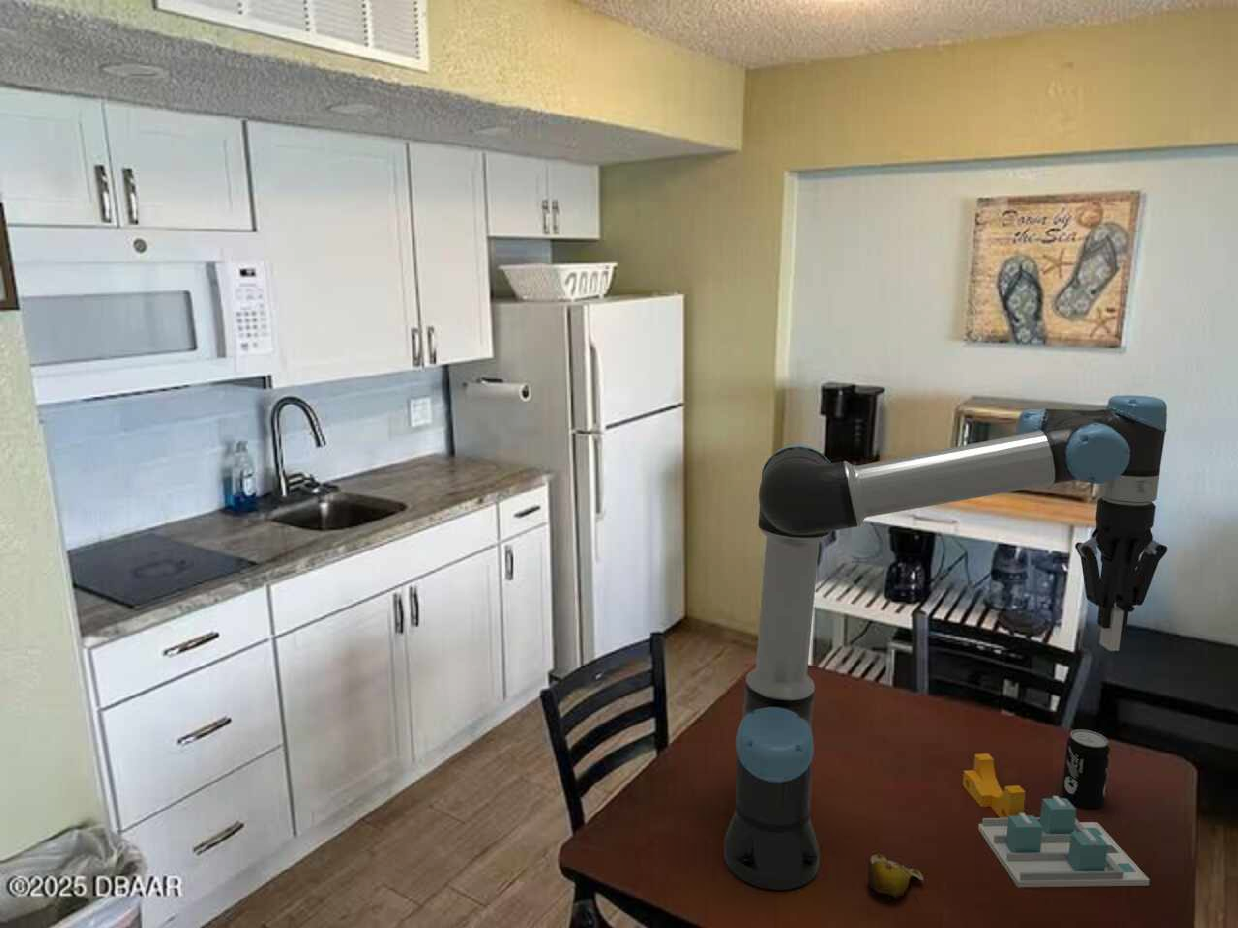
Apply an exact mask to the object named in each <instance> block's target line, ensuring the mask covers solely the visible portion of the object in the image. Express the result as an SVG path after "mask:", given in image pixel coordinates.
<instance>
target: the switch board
mask: <svg viewBox="0 0 1238 928" xmlns="http://www.w3.org/2000/svg"><path fill="white" fill-rule="evenodd" d="M1034 817H1035V816H1034ZM1035 818H1036V819H1037V821H1038V822H1039V823H1040V816H1038V817H1035ZM981 821H982V822H981V823H978V825H977V830H978V831H979V832H980V834H981V836H982V837H983V838H984V840H985V842H986V843H987V844H988V846H989V847H990V849H991V851H992V852H993V853H994V855H995V856H996V857H997V859H998V860H999V862H1000V863H1001V865H1002V867H1003V868H1004V869H1005V871H1006V872H1007V874H1008V875H1009V877H1010V878H1011V879H1012V881H1013V883H1014V884H1015V886H1016V887H1017V888H1063V887H1064V888H1065V887H1067V888H1068V887H1069V888H1071V887H1073V888H1074V887H1077V888H1078V887H1079V888H1080V887H1139V886H1140V887H1141V886H1143V887H1145V886H1146V887H1147V886H1148V887H1149V886H1150V880H1151V879H1150V878H1149V877H1148V876H1147V875H1146V874H1145V873H1144V872H1143V871H1142V870H1141V869H1140V867H1138V865H1137V864H1136V863H1135V862H1134V861H1133V860H1132V859H1131V858H1130V856H1129V855H1128V854H1127V853H1126V852H1125V851H1124V850H1123V848H1121V847H1120V845H1119V844H1118V843H1116V841H1115V840H1114V838H1112V837H1111V835H1109V834H1108V833H1107V831H1106V830H1105V829H1104V828H1103V827H1102V825H1100V824H1099V823H1098V822H1096V821H1095V822H1094V821H1089V822H1088V821H1086V822H1081V821H1079V820H1078V819H1077V817H1075V824H1074V832H1082V830H1088V831H1089V832H1097V833H1098V834H1099V835H1100V836H1101V838H1102V839H1103V840H1104V841H1105V842H1106V843H1107V844H1108V848H1107V856H1106V864H1105V871H1075V869H1074V868H1073V867H1072V866H1071V864H1070V863H1069V862H1068V854H1069V845H1070V836H1071V834H1046V833H1045V832H1044V831H1043V829H1042V838H1041V848H1040V852H1026V853H1012V851H1011V850H1010V849H1009V847H1008V846H1007V844H1006V835H1007V824H1008V818H1000V817H983V818H982V819H981Z"/></svg>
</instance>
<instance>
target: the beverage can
mask: <svg viewBox="0 0 1238 928" xmlns="http://www.w3.org/2000/svg"><path fill="white" fill-rule="evenodd" d="M1108 743H1109V742H1108V739H1107V738H1106V737H1105V736H1104V735H1102V734H1101V733H1099V732H1096V731H1093V730H1090V729H1084V728H1083V729H1081V728H1080V729H1079V728H1078V729H1073V730H1072V731H1071V732H1070V736H1068V738H1067V739H1066V746H1065V747H1066V748H1065V756H1064V765H1063V773H1062V783H1061V794H1062V795H1063V796H1064V797H1065V798H1066V799H1067V800H1068V801H1069V802H1070V803H1071V804H1072V805H1074V806H1076V807H1081V808H1083V809H1095V808H1097V807H1100V806H1101V805H1103V804H1104V801H1105V794H1106V784H1107V777H1108V770H1109V769H1108V768H1109V760H1110V753H1111V750H1110V747H1109V745H1108Z"/></svg>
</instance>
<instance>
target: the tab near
mask: <svg viewBox="0 0 1238 928" xmlns="http://www.w3.org/2000/svg"><path fill="white" fill-rule="evenodd" d="M1107 848H1108V844H1107V843H1106V842H1105V841H1104V840H1103V839H1102V838H1101V836H1100V835H1099V834H1098V833H1097V832H1089V831H1088V830H1082V832H1071V836H1070V845H1069V854H1068V862H1069V863H1070V864H1071V866H1072V867H1073V868H1074V869H1075V871H1105V864H1106V856H1107Z"/></svg>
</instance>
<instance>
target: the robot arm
mask: <svg viewBox="0 0 1238 928" xmlns="http://www.w3.org/2000/svg"><path fill="white" fill-rule="evenodd" d="M1107 401H1108V402H1107V405H1106V407H1105V409H1104V408H1102V409H1101V408H1100V409H1068V408H1066V409H1065V408H1048V407H1043V408H1027V409H1024V410H1023V411H1022V412H1021V413H1020V414H1019V416H1018V418H1017V423H1016V426H1015V427H1016V429H1015V434H1014V435H1010V436H1005V437H999V438H995V439H990V440H989V439H988V440H985V441H978V442H974V443H973V442H972V443H970V444H963V445H958V446H953V447H949V448H944V449H943V448H942V449H936V450H932V451H928V452H927V451H926V452H921V453H917V454H913V455H912V454H911V455H906V456H901V457H900V456H899V457H896V458H890V459H885V460H880V461H875V462H870V463H865V464H859V465H853V464H851V463H850V462H848V461H847V460H844V461H838V462H833V463H831V461H830V459H828V458H827V457H826V455H824V454H823V453H822V452H821V451H819V450H818V449H816V448H815V447H811V446H809V445H804V444H794V445H793V444H792V445H789V446H784V447H782V448H781V449H779V450H777V451H775V453H773V454H772V455H771V456H770V457H769V458H768V459H767V461H765V464H764V466H763V468H762V472H761V483H760V485H759V492H758V497H759V498H758V502H759V514H758V526H757V527H758V529H759V530H760V531H761V532H762V533H763V534H764V535H765V538H766V543H765V555H764V566H763V578H762V579H763V580H762V591H761V602H760V614H759V626H758V638H757V639H758V640H757V650H756V651H757V652H756V661H755V662H756V663H755V667H754V668H753V669H752V670H750V671H749V672H748V673H747V674H746V677H745V688H744V690H745V691H744V699H743V707H742V708H743V709H742V720H741V721H740V723H739V724H738V730H737V733H736V738H735V749H736V780H735V781H736V783H735V784H736V786H735V787H736V788H735V811H734V813H733V815H732V819H731V820H730V823H729V825H728V828H727V831H726V832H725V833H726V834H725V837H724V840H723V857H724V861H725V863H726V866H727V867H728V868H729V870H730V872H731V873H733V874H734V875H735V876H736V877H737V878H739V879H740V880H741V881H744V883H747V884H750V885H752V886H755V887H757V888H761V889H765V890H766V889H767V890H774V891H785V890H787V891H788V890H792V889H796V888H800V887H802V886H804V885H806V884H808V883H810V881H812V880H813V879H815V877H816V875H817V874H818V873H819V867H820V855H821V854H820V847H819V843H818V840H817V836H816V834H815V830H814V827H813V824H812V821H811V799H812V797H811V796H812V776H813V775H812V772H813V758H814V752H815V743H814V742H815V741H814V737H813V732H812V720H813V711H814V701H815V700H814V699H815V689H816V687H815V682H814V681H813V679H812V678H810V676H809V675H808V667H809V658H810V657H809V656H810V646H811V635H812V626H813V625H812V624H813V615H814V606H815V605H814V604H815V593H816V586H817V585H816V584H817V583H816V582H817V573H818V564H819V563H818V562H819V552H820V543H821V542H822V541H824V540H825V539H826V538H828V537H829V536H830V535H831V532H834V531H839V530H845V529H850V528H855V527H860V526H861V525H862V522H864V520H865V519H866V518H871V517H876V516H882V515H887V514H893V513H899V512H903V511H904V512H905V511H909V510H916V509H921V508H922V509H923V508H927V507H931V506H932V507H933V506H937V505H943V504H948V503H954V502H960V501H961V502H962V501H966V500H971V499H976V498H982V497H987V496H989V497H990V496H993V495H998V494H1005V493H1009V492H1016V491H1021V490H1027V489H1033V488H1038V487H1043V486H1044V487H1045V486H1048V485H1054V484H1055V485H1056V484H1061V483H1069V482H1073V481H1080V482H1083V483H1088V484H1093V485H1098V490H1097V493H1098V495H1099V496H1100V497H1099V498H1098V499H1097V500H1096V507H1095V509H1096V510H1095V511H1096V512H1095V518H1094V519H1095V528H1094V530H1093V531H1092V534H1091V538H1090V539H1088V540H1086V541H1085V542H1081V541H1078V542H1076V543H1075V545H1074V549H1076V551H1077V553H1078V555H1079V557H1080V563H1081V569H1082V575H1083V583H1084V584H1083V585H1084V589H1085V597H1086V598H1085V599H1087V601H1088V602H1090V603H1092V604H1094V605H1095V606H1097V607H1098V612H1097V620H1096V622H1097V625H1098V627H1100V635H1099V636H1100V637H1099V645H1101V646H1102V647H1103V648H1105V649H1106V650H1108V651H1110V652H1113V651H1114V652H1115V651H1116V652H1117V651H1118V652H1119V651H1120V648H1121V647H1120V646H1121V638H1122V629H1125V628H1127V625H1128V619H1129V612H1133V611H1134V610H1135V606H1139V607H1140V606H1142V605H1143V604H1144V602H1145V600H1146V596H1147V594H1148V592H1149V589H1150V586H1151V584H1152V581H1153V578H1154V575H1155V573H1156V570H1157V568H1158V565H1159V562H1160V561H1161V560H1162V558H1163V557H1164V555H1165V554H1166V553H1167V551H1168V547H1167V546H1165V545H1164V544H1161V543H1159V542H1157V541H1156V540H1154V535H1153V533H1152V530H1151V529H1152V528H1153V527H1154V524H1155V515H1156V504H1155V503H1154V501H1156V500H1157V497H1158V496H1157V495H1158V490H1159V489H1158V488H1159V482H1160V473H1161V472H1160V471H1161V464H1162V463H1161V462H1162V458H1163V457H1162V456H1163V452H1164V450H1163V449H1164V443H1165V436H1166V433H1167V419H1168V413H1167V411H1168V408H1167V404H1166V402H1165V401H1164V400H1163V399H1161V398H1158V397H1153V396H1148V395H1147V396H1145V395H1134V394H1132V395H1131V394H1129V395H1128V394H1127V395H1114V396H1111V397H1109V399H1108V400H1107ZM1097 549H1098V551H1099V552H1100V562H1101V568H1100V570H1099V564H1098V559H1097V556H1096V555H1097V554H1098V551H1097Z"/></svg>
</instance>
